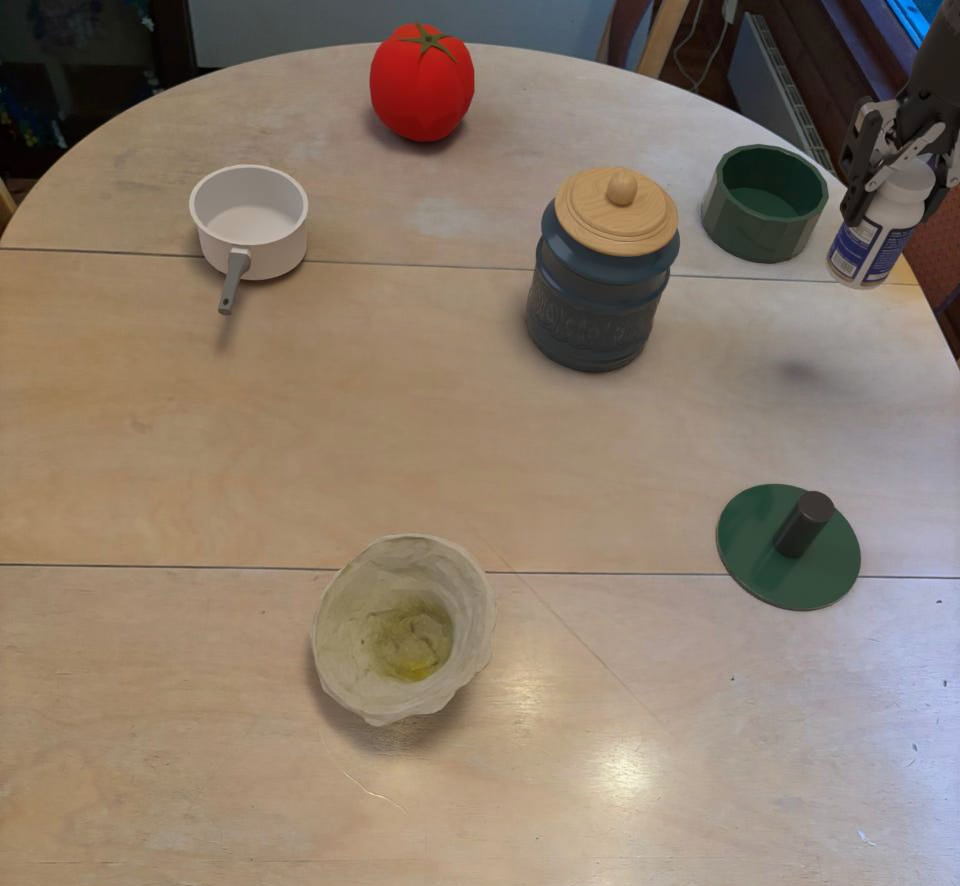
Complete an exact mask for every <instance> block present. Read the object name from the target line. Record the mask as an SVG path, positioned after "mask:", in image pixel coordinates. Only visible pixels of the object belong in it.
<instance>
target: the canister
mask: <svg viewBox="0 0 960 886" xmlns="http://www.w3.org/2000/svg"><path fill="white" fill-rule="evenodd" d="M540 222H541V223H540V229H541V231H540V232H541V236H540V237H539V240H538V242H537V244H536V248H535V265H534V270H533V275H532V279H531V280H532V281H531V286H530V288H529V290H528V292H527V298H526V302H525V303H526V304H525V317H526V326H527V330H528V333H529V335H530V337H531V339H532V341H533V343H534V344H535V345H536V346H537V348H538V349H539V350H541V352H542V353H544V354H545V355H546V356H547V357H549V358H550V359H552V360H553V361H555V362H557V363H558V364H561V365H563V366H566V367H568V368H571V369H575V370H580V371H586V372H587V371H588V372H603V371H610V370H614V369H617V368H620V367H622V366H624V365H626V364H628V363H629V362H631V361H632V360H633V359H635V358H636V357H637V356H638V355H639V354H640V352H641V350H642V349H643V347H644V346H645V345H646V343H647V342H648V340H649V338H650V335H651V332H652V330H653V326H654V322H655V315H656V312H657V309H658V307H659V304H660V301H661V299H662V295H663V293H664V291H665V289H666V288H667V286H668V284H669V281H670V276H671V267H672V266H673V264H675V263H674V262H675V261H676V260H677V258H678V256H679V253H680V248H681V237H680V232H679V229H678V225H679V212H678V209H677V206H676V203H675V202H674V200H673V199H672V197H671V195H670V194H669V193H668V192H667V190H665V188H663V187H662V186H661V185H660V184H658V182H655V180H652V179H651V178H650V177H647V176H646V175H645V174H642V173H641V172H638V171H636V170H634V169H630V168H625V167H621V166H620V167H619V166H601V167H591V168H587V169H583V170H580V171H578V172H575V173H574V174H572V175H570V176H569V177H568V178H566V179H565V180H564V181H563V182H562V183H561V185H560V186H559V187H558V189H557V191H556V193H555V196H554V197H553V198H552V199H551V200H550V201H549V202H548V204H547V205H546V207H545V209H544V210H543V213H542V217H541V221H540Z"/></svg>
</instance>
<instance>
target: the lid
mask: <svg viewBox="0 0 960 886" xmlns="http://www.w3.org/2000/svg"><path fill="white" fill-rule="evenodd" d="M716 525H717V526H716V532H715V533H716V534H715V536H716V537H715V539H716V547H717V550H718V553H719V556H720V558H721V561H722V563H723V565H724V567H725V568H726V570H727V571H728V573H729V574H730V576H731V577H732V578H733V579H734V581H736V582H737V584H739V586H740V587H742V588H743V589H744V590H746V591H747V593H749V594H751V595H752V596H754V597H755V598H757V599H759V600H761V601H762V602H765V603H767V604H769V605H772V606H774V607H777V608H780V609H781V608H782V609H784V610H785V609H786V610H791V611H813V610H818V609H819V610H820V609H823V608H825V607H828V606H831V605H833V604H835V603H837V602H838V601H840V600H841V599H842V598H844V597H845V595H847V594H848V593H849V592H850V591H851V589H852V588H853V586H854V585H855V583H856V582H857V579H858V578H859V575H860V571H861V565H862V552H861V547H860V543H859V539H858V536H857V535H856V533H855V531H854V529H853V527H852V526H851V524H850V522H849V521H848V520H847V518H846V517H845V516H844V515H843V514H842V512H841V511H840V510H839V509H838V508H836V507H835V504H834V502H833V500H832V499H831V497H830V496H828V495H827V494H825V493H823V492H821V491H819V490H807V489H805V488H802V487H799V486H796V485H790V484H787V483H786V484H785V483H765V484H758V485H755V486H751V487H748V488H746V489H744V490H742V491H741V492H739V493H737V494H736V495H735V496H734V497H732V498H731V499H730V500H729V501H728V502H727V504H726V505H725V506H724V508H723V509H722V512H721V513H720V516H719V518H718V521H717V524H716Z"/></svg>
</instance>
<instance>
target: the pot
mask: <svg viewBox="0 0 960 886" xmlns="http://www.w3.org/2000/svg"><path fill="white" fill-rule="evenodd" d="M829 198H830V195H829V187H828V182H827V180H826V179H825V178H824V176H823V174H822V172H820V171H819V169H818V168H817V166H815V165H814V164H813V163H812V162H810V161H808V159H806V158H804V157H803V156H802V155H801V154H799V153H796V152H794V151H791V150H789V149H786V148H783V147H781V146H777V145H771V144H770V145H769V144H764V143H754V144H746V145H739V146H736V147H735V148H733V149H730V150H729V151H728V152H726V153H724V154H722V157H721V158H720V160H719V162H718V163H717V165H716V166H715V169H714V171H713V175H712V177H711V180H710V183H709V186H708V188H707V192H706V194H705V197H704V199H703V203H702V206H701V222H702V226H703V228H704V231H705V232H706V233H707V235H708V236H709V237H710V239H711V240H712V241H713V242H714V243H715V244H716V245H718V246H719V247H720V248H722V249H723V250H724V251H725V252H728V253H730V254H731V255H733V256H736V257H738V258H740V259H743V260H747V261H750V262H755V263H764V264H771V263H772V264H773V263H780V262H785V261H788V260H791V259H793V258H794V257H796V256H797V255H799V254H801V252H802V251H803V250H804V249H805V247H806V246H807V244H808V242H809V240H810V238H811V235H812V234H813V232H814V230H815V228H816V226H817V223H818V222H819V220H820V218H821V216H822V214H823V211H824V209H825V207H826V205H827V203H828V201H829Z"/></svg>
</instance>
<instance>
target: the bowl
mask: <svg viewBox="0 0 960 886" xmlns="http://www.w3.org/2000/svg"><path fill="white" fill-rule="evenodd" d="M497 601H498V600H497V593H496V591H495V588H494V586H493V584H492V583H491V581H490V578H489V576H488V575H487V573H486V571H485V569H484V568H483V567H482V566H481V565H480V564H479V562H478V560H477V558H475V556H474V555H473V554H472V553H471V551H470V550H469V549H467V548H466V547H465V546H463V545H461V544H459V543H457V542H455V541H453V540H450V539H446V538H443V537H441V536H436V535H433V534H427V533H419V532H411V533H396V534H387V535H383V536H379V537H377V538H376V539H374V540H372V541H371V542H370V543H369V544H367V545H366V546H365V547H364V548H363V549H362V550H361V551H359V552H358V553H356V555H355V556H354V557H353V558H352V559H350V560H349V561H348V562H347V563H346V564H345V565H344V566H342V567H341V568H340V569H339V570H337V571H336V572H335V574H333V576H332V578H331V579H330V580H329V581H328V582H327V584H326V586H325V588H324V590H323V591H322V593H321V596H320V597H319V601H318V603H317V607H316V610H315V613H314V619H313V623H312V626H311V628H310V631H309V634H308V637H310V641H311V643H310V644H311V652H312V655H313V657H314V666H315V669H316V672H317V674H318V678H319V681H320V685H321V688H322V690H323V691H324V692H323V693H326V694H327V695H328V696H330V697H331V698H332V699H333V700H335V702H337V703H338V704H339V705H340V706H341V707H342V708H344V709H345V710H347V711H350V712H352V713H354V714H356V715H358V716H360V717H362V718H363V719H364V721H365V723H367V724H369V725H371V726H373V727H383V726H388V725H391V724H392V723H395V722H398V721H399V720H402V719H404V718H407V717H409V716H413V715H428V714H435V713H436V712H438V711H440V710H442V709H443V708H444V707H445V706H446V705H447V704H448V703H449V702H450V701H451V699H452V698H453V697H454V696H455V694H456V692H457V691H458V690H459V689H460V688H462V687H463V686H466V685H467V684H468V683H469V682H470V681H471V680H472V678H473V677H475V676H478V674H480V673H481V672H482V671H484V670H485V669H486V668H487V667H488V666H489V664H490V662H491V660H492V659H493V649H492V636H493V633H494V630H495V628H496V624H497V619H498V612H497V607H498V605H497V603H498V602H497Z"/></svg>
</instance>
